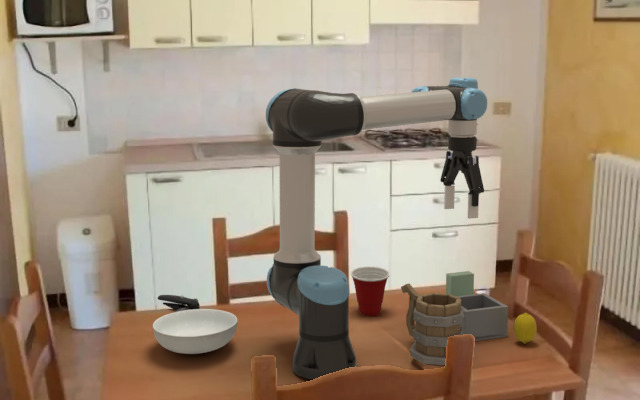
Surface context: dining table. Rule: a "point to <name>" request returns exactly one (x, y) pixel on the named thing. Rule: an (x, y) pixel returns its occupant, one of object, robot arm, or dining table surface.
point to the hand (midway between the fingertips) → (460, 213)
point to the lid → (460, 283)
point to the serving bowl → (195, 330)
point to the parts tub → (484, 317)
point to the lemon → (525, 328)
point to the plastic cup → (370, 288)
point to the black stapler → (180, 302)
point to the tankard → (432, 324)
